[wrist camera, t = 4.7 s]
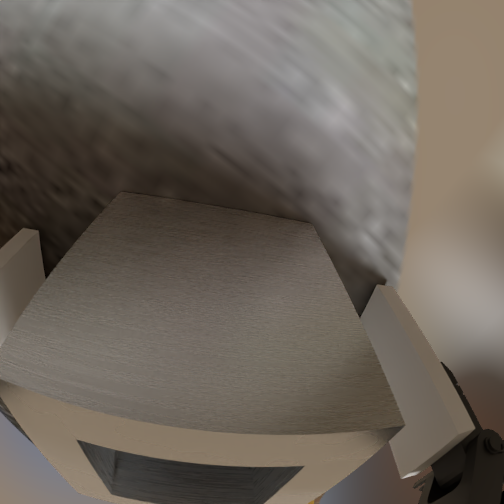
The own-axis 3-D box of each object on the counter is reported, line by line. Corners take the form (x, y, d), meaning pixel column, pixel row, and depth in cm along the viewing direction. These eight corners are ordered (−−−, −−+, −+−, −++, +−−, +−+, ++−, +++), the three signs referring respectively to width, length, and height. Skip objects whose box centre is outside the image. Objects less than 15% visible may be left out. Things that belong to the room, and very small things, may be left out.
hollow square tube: (122, 333, 12) (78, 493, 6) (120, 191, 9) (-14, 372, 3) (266, 353, 13) (286, 516, 6) (311, 223, 10) (405, 425, 4)
